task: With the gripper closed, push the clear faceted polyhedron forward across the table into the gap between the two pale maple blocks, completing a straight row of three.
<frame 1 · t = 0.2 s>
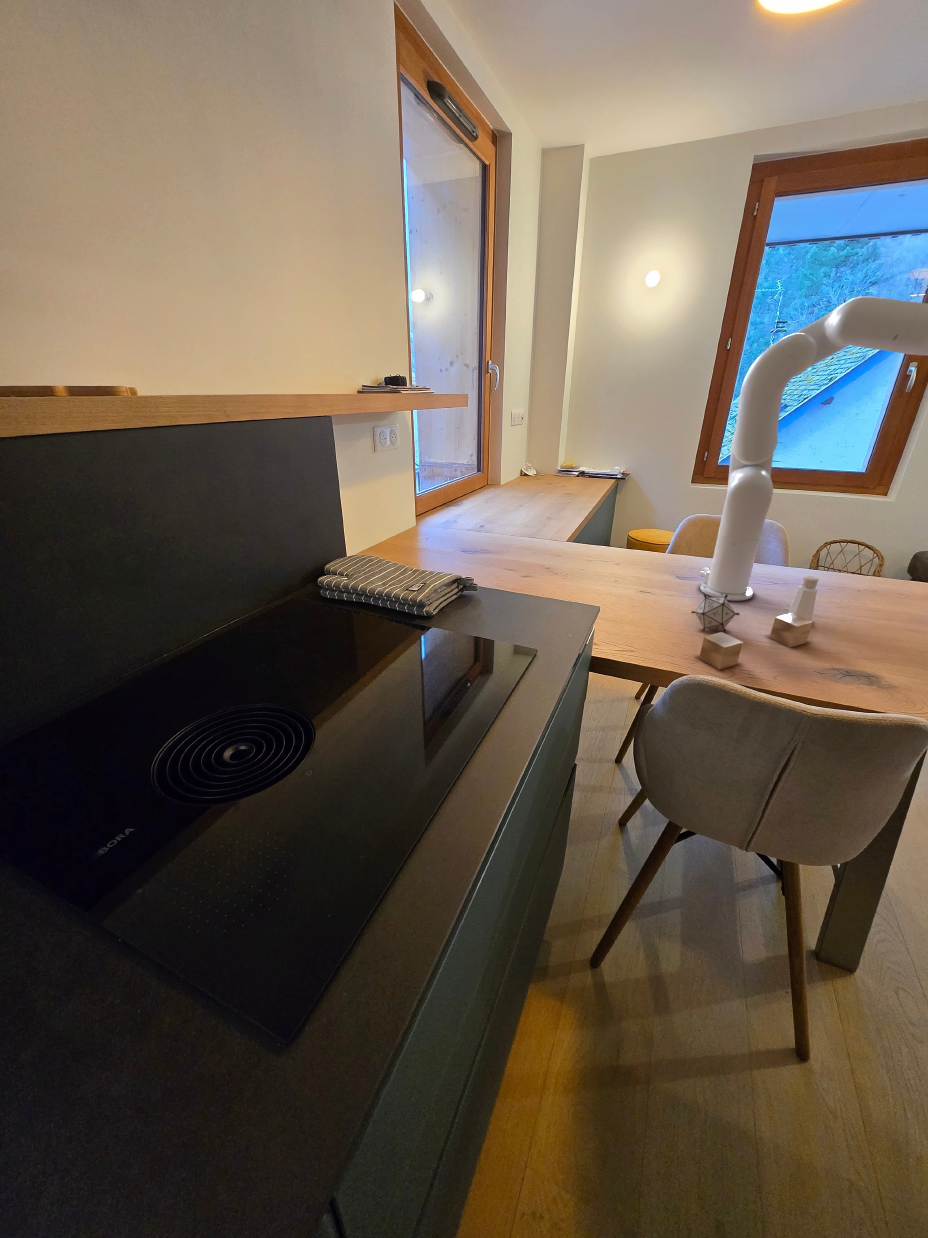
salt shaker: (797, 622, 115), on the table
clear faceted polyhedron: (711, 629, 113), on the table
maple block 2: (787, 640, 107), on the table
maple block 1: (717, 661, 100), on the table
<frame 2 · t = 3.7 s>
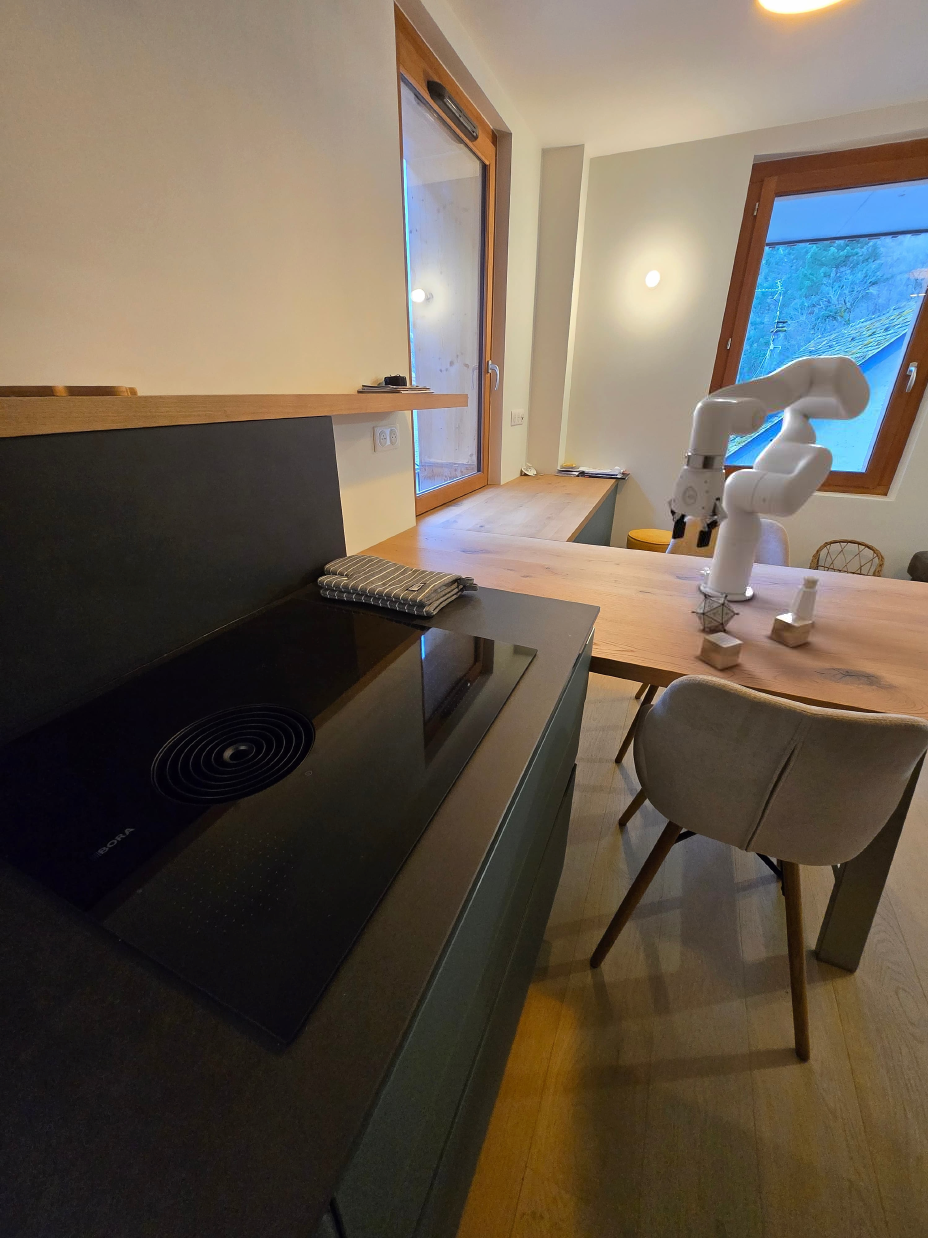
hand: (689, 541, 113), 18 cm above the table, tool pointing down, fingers open, 6 cm apart
nothing on the table moved.
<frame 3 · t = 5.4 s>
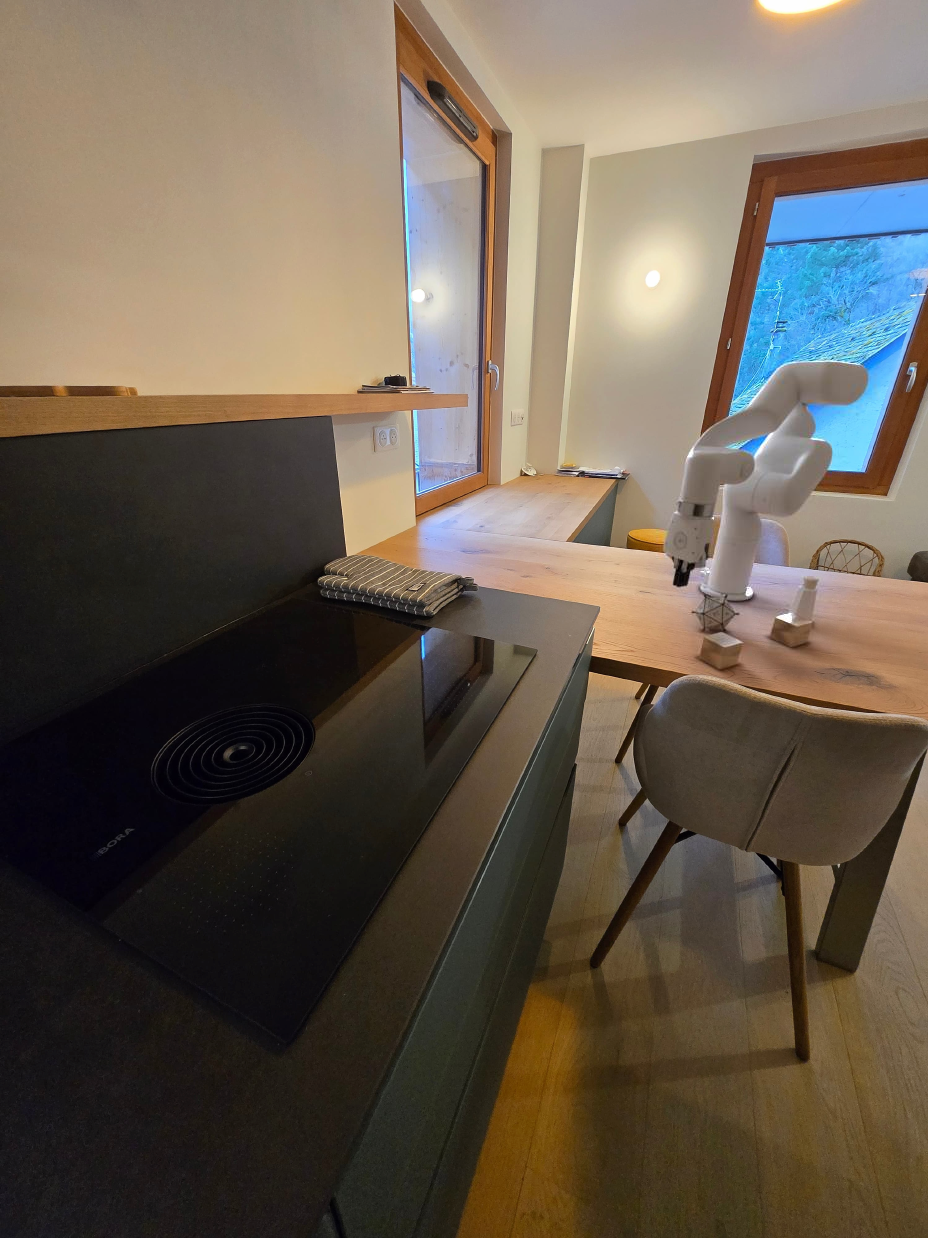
hand: (679, 585, 118), 7 cm above the table, tool pointing down, fingers closed
nothing on the table moved.
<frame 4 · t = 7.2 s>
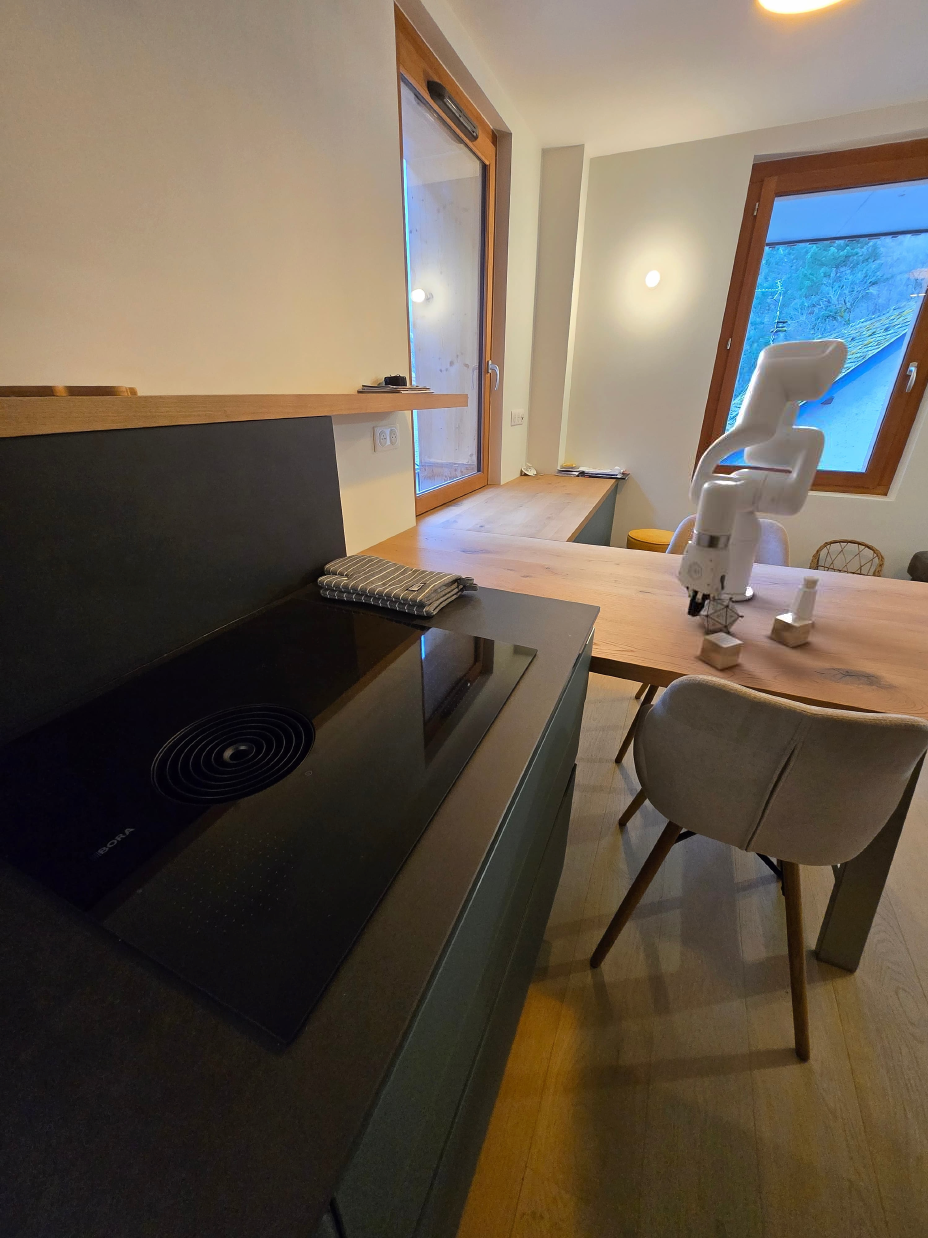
hand: (694, 614, 116), 1 cm above the table, tool pointing down, fingers closed
clear faceted polyhedron: (715, 631, 112), on the table, touching gripper
everything else where it was.
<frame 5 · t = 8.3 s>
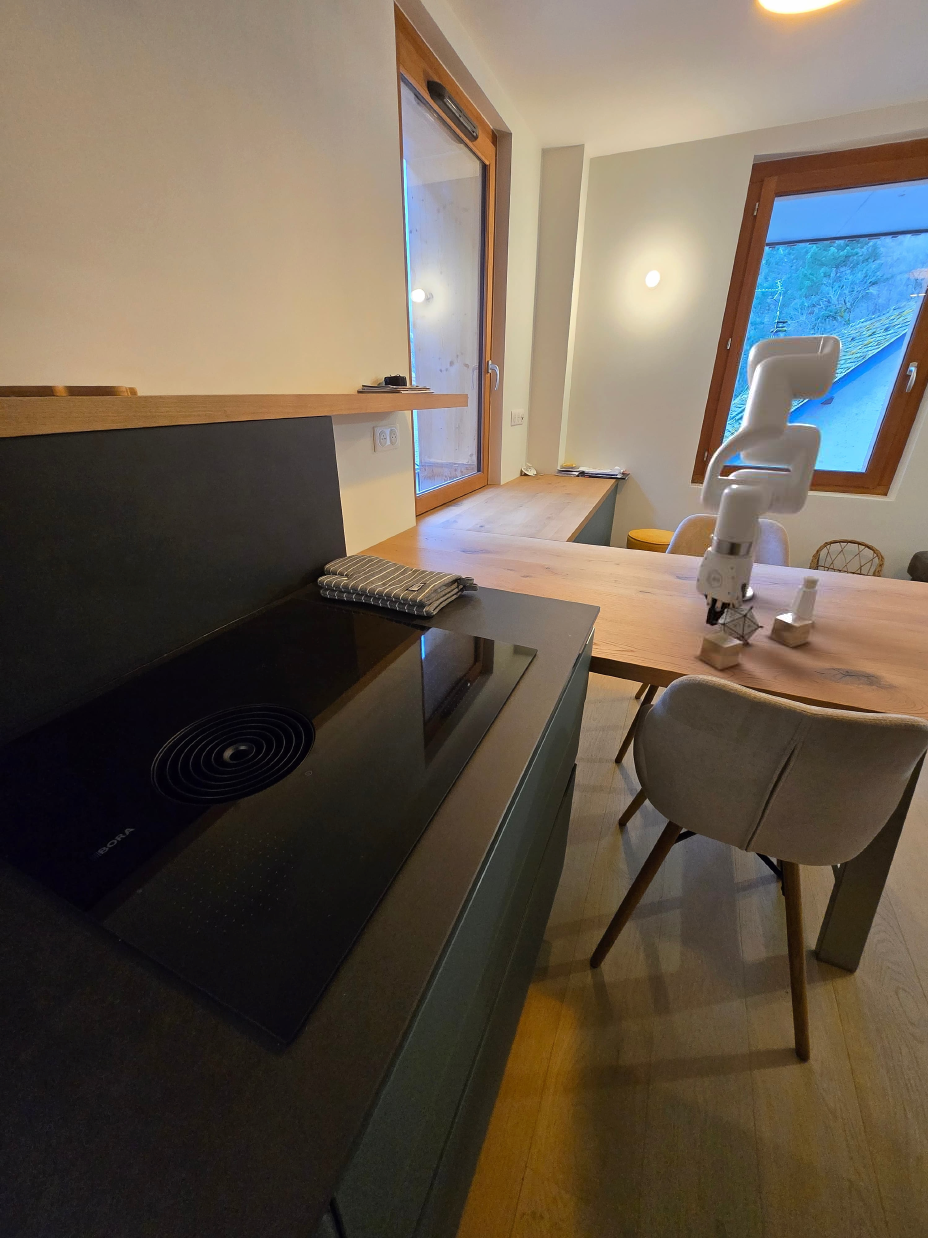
hand: (713, 623, 112), 1 cm above the table, tool pointing down, fingers closed
clear faceted polyhedron: (733, 641, 107), on the table, touching gripper
everything else where it was.
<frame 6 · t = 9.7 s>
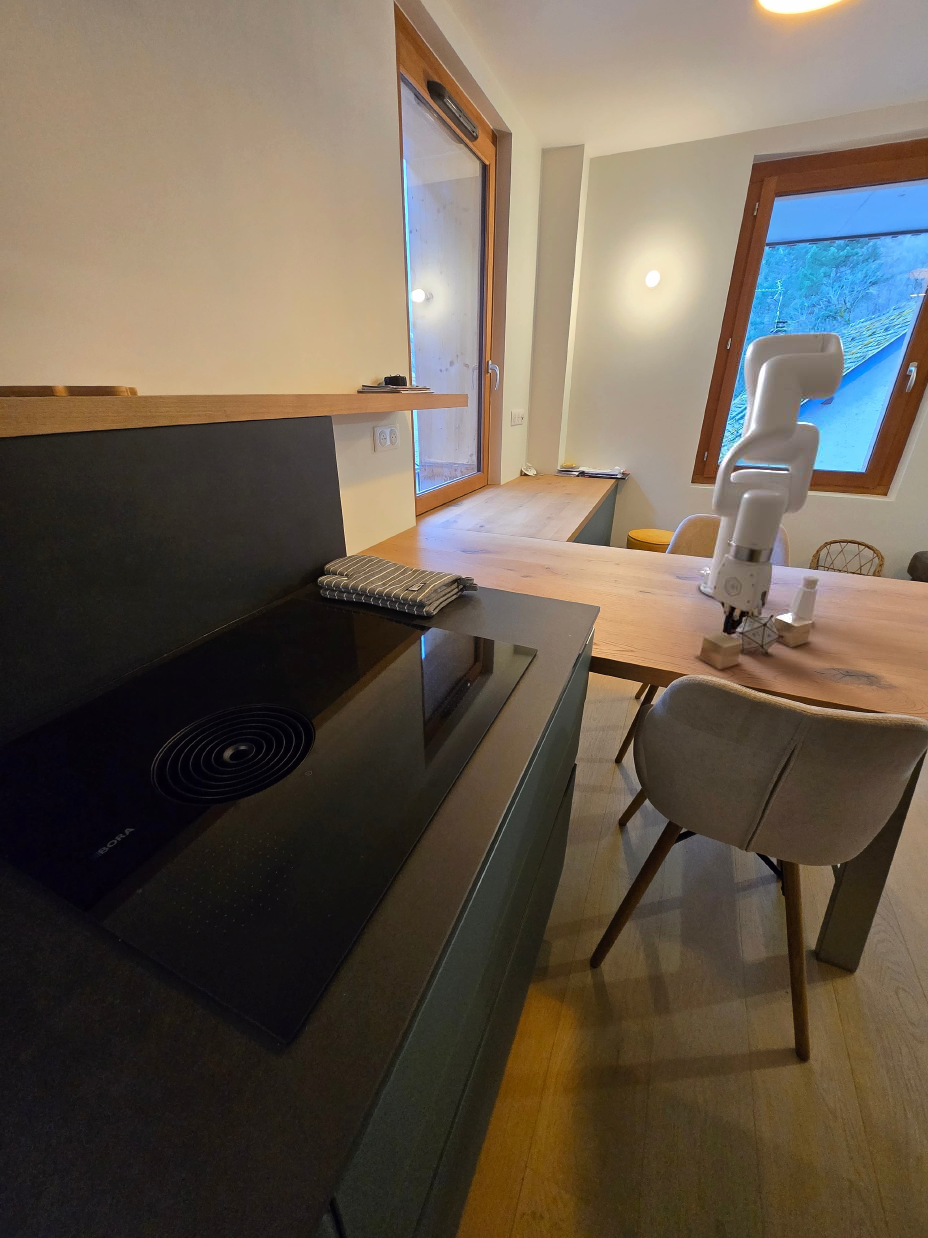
hand: (730, 632, 108), 1 cm above the table, tool pointing down, fingers closed
clear faceted polyhedron: (751, 651, 104), on the table, touching gripper
everything else where it was.
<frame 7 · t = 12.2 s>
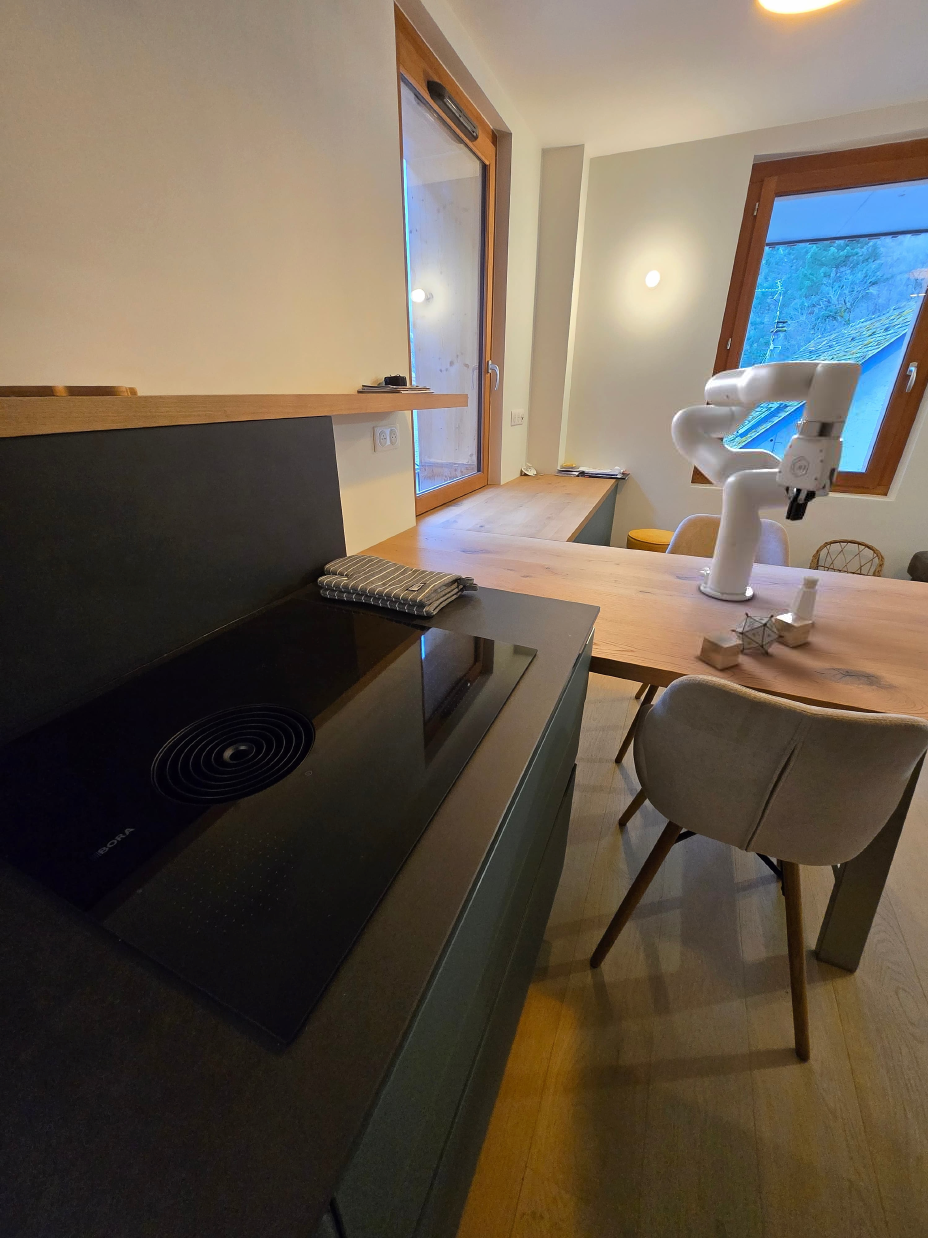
hand: (793, 519, 108), 24 cm above the table, tool pointing down, fingers closed
clear faceted polyhedron: (751, 651, 104), on the table
everything else where it was.
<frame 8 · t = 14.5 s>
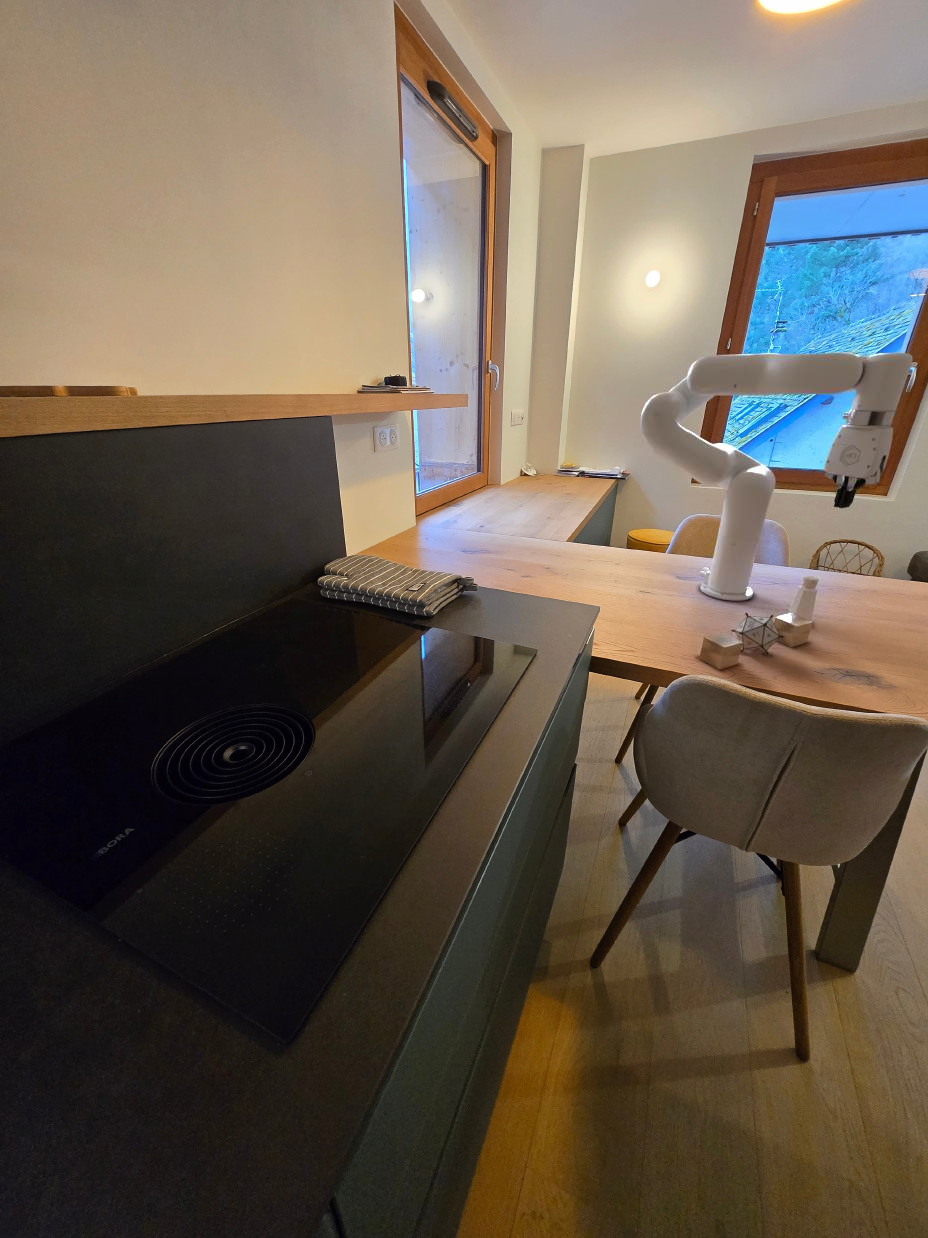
hand: (841, 506, 111), 25 cm above the table, tool pointing down, fingers closed
nothing on the table moved.
at the end: clear faceted polyhedron 0.4 cm from the target spot, on the table; clear faceted polyhedron tilted 0°; maple block 1 moved 0.0 cm from its start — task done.
